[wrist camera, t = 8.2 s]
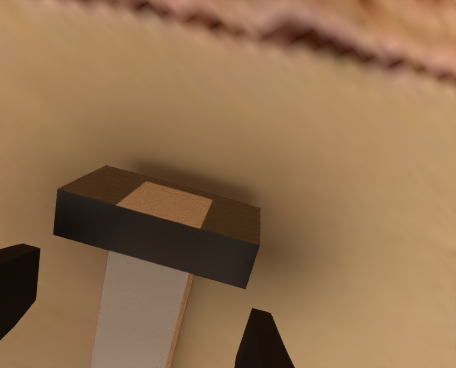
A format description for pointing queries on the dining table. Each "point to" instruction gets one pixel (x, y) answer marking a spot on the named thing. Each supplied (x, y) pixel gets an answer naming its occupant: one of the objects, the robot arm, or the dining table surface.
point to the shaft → (153, 256)
